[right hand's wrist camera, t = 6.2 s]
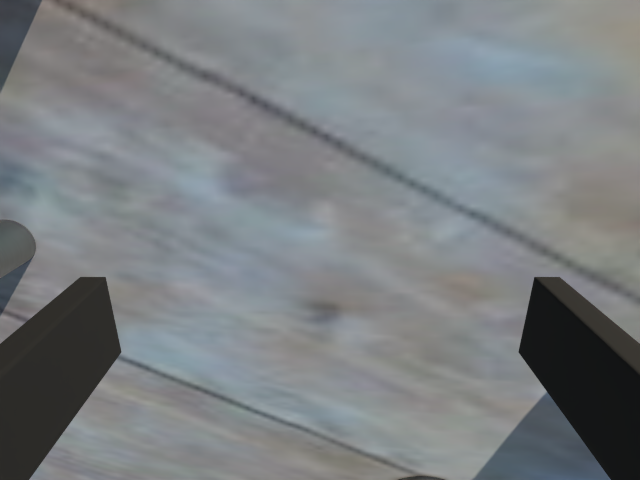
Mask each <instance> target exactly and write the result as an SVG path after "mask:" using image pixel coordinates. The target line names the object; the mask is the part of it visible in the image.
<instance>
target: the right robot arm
mask: <svg viewBox="0 0 640 480" xmlns="http://www.w3.org/2000/svg"><path fill="white" fill-rule="evenodd" d="M120 353H121V348H120V343H119V339H118V334H117V329H116V324H115V320H114V315H113V310H112V306H111V301H110V296H109V291H108V287H107V282H106V277H80V278H79V279H78V280H76V281H75V282H74V283H73V284H72V285H70V286H69V287H68V288H67V289H66V290H64V291H63V292H62V293H61V294H60V295H58V296H57V297H56V298H55V299H54V300H52V301H51V302H50V303H49V304H48V305H46V306H45V307H44V308H43V309H42V310H40V311H39V312H38V313H37V314H36V315H34V316H33V317H32V318H31V319H30V320H28V321H27V322H26V323H25V324H24V325H22V326H21V327H20V328H19V329H18V330H16V331H15V332H14V333H13V334H12V335H10V336H9V337H8V338H7V339H6V340H4V341H3V342H2V343H1V344H0V480H29V479H30V478H31V476H32V475H33V473H34V472H35V471H36V469H37V468H38V466H39V465H40V464H41V462H42V461H43V460H44V458H45V457H46V455H47V454H48V453H49V451H50V450H51V449H52V447H53V446H54V444H55V443H56V442H57V440H58V439H59V437H60V436H61V435H62V433H63V432H64V431H65V429H66V428H67V426H68V425H69V424H70V422H71V421H72V420H73V418H74V417H75V415H76V414H77V413H78V411H79V410H80V408H81V407H82V406H83V404H84V403H85V402H86V400H87V399H88V397H89V396H90V395H91V393H92V392H93V391H94V389H95V388H96V386H97V385H98V384H99V382H100V381H101V379H102V378H103V377H104V375H105V374H106V373H107V371H108V370H109V368H110V367H111V366H112V364H113V363H114V362H115V360H116V359H117V357H118V356H119V355H120ZM519 353H520V355H521V356H522V357H523V359H524V360H525V362H526V363H527V364H528V366H529V367H530V368H531V370H532V371H533V373H534V374H535V375H536V377H537V378H538V379H539V381H540V382H541V384H542V385H543V386H544V388H545V389H546V391H547V392H548V393H549V395H550V396H551V397H552V399H553V400H554V402H555V403H556V404H557V406H558V407H559V408H560V410H561V411H562V413H563V414H564V415H565V417H566V418H567V420H568V421H569V422H570V424H571V425H572V426H573V428H574V429H575V431H576V432H577V433H578V435H579V436H580V437H581V439H582V440H583V442H584V443H585V444H586V446H587V447H588V449H589V450H590V451H591V453H592V454H593V455H594V457H595V458H596V460H597V461H598V462H599V464H600V465H601V467H602V468H603V469H604V471H605V472H606V473H607V475H608V476H609V478H610V479H611V480H640V344H639V343H638V342H637V341H636V340H634V339H633V338H632V337H631V336H630V335H628V334H627V333H626V332H625V331H624V330H622V329H621V328H620V327H619V326H618V325H616V324H615V323H614V322H613V321H612V320H610V319H609V318H608V317H607V316H606V315H604V314H603V313H602V312H601V311H600V310H598V309H597V308H596V307H595V306H594V305H592V304H591V303H590V302H589V301H588V300H586V299H585V298H584V297H583V296H582V295H580V294H579V293H578V292H577V291H576V290H574V289H573V288H572V287H571V286H570V285H568V284H567V283H566V282H565V281H564V280H562V279H561V278H560V277H534V282H533V287H532V291H531V296H530V301H529V306H528V310H527V315H526V320H525V324H524V329H523V334H522V339H521V343H520V348H519ZM399 480H444V479H440V478H436V477H428V476H416V477H408V478H403V479H399Z"/></svg>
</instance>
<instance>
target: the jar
mask: <svg viewBox="0 0 640 480" xmlns="http://www.w3.org/2000/svg"><path fill="white" fill-rule="evenodd" d="M35 250H36V245H35V240H34V238H33V236H32V234H31V233H30V232H29V231H28V230H27V229H26V228H25V227H24V226H23V225H21V224H19V223H17V222H14V221H11V220H0V278H2V277H3V276H5V275H7V274H8V273H10V272H11V271H13V270H15V269H16V268H18V267H19V266H21V265H22V264H24V263H26V262H27V261H29V260H30V259H31V258H32V257H33V256H34V253H35Z"/></svg>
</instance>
